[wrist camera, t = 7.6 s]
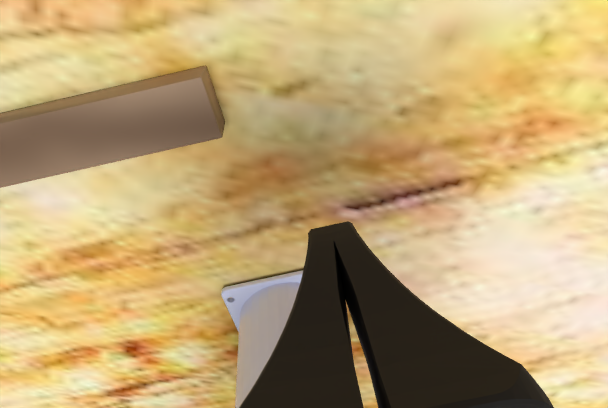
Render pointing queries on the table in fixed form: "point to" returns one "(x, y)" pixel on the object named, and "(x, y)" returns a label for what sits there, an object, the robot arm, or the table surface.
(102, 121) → the brown piece
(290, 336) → the robot arm
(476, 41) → the table surface
